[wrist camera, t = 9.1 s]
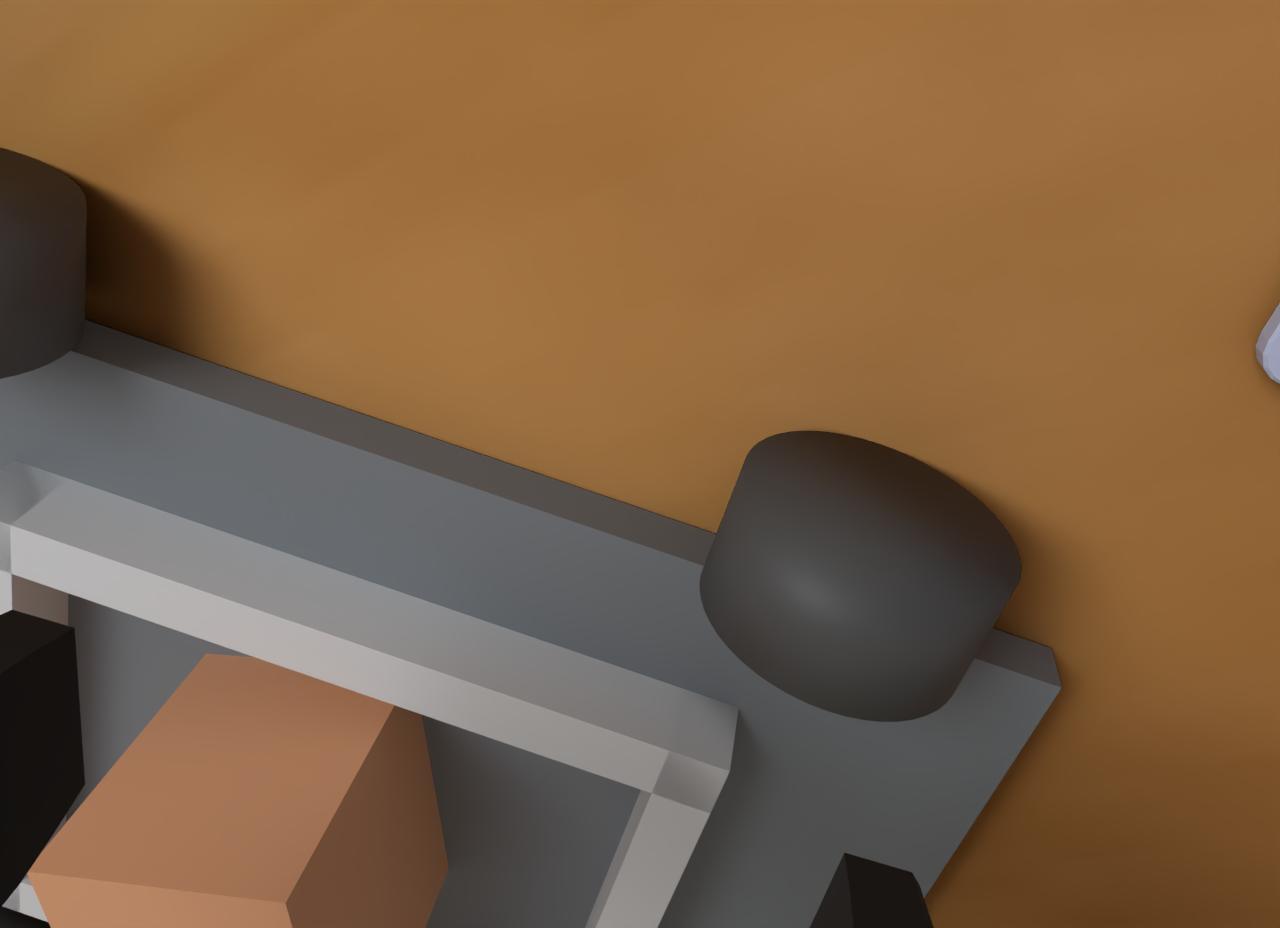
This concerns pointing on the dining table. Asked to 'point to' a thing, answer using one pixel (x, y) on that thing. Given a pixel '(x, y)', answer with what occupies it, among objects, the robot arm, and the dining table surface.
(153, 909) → the orange block
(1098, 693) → the dining table surface
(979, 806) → the chassis
